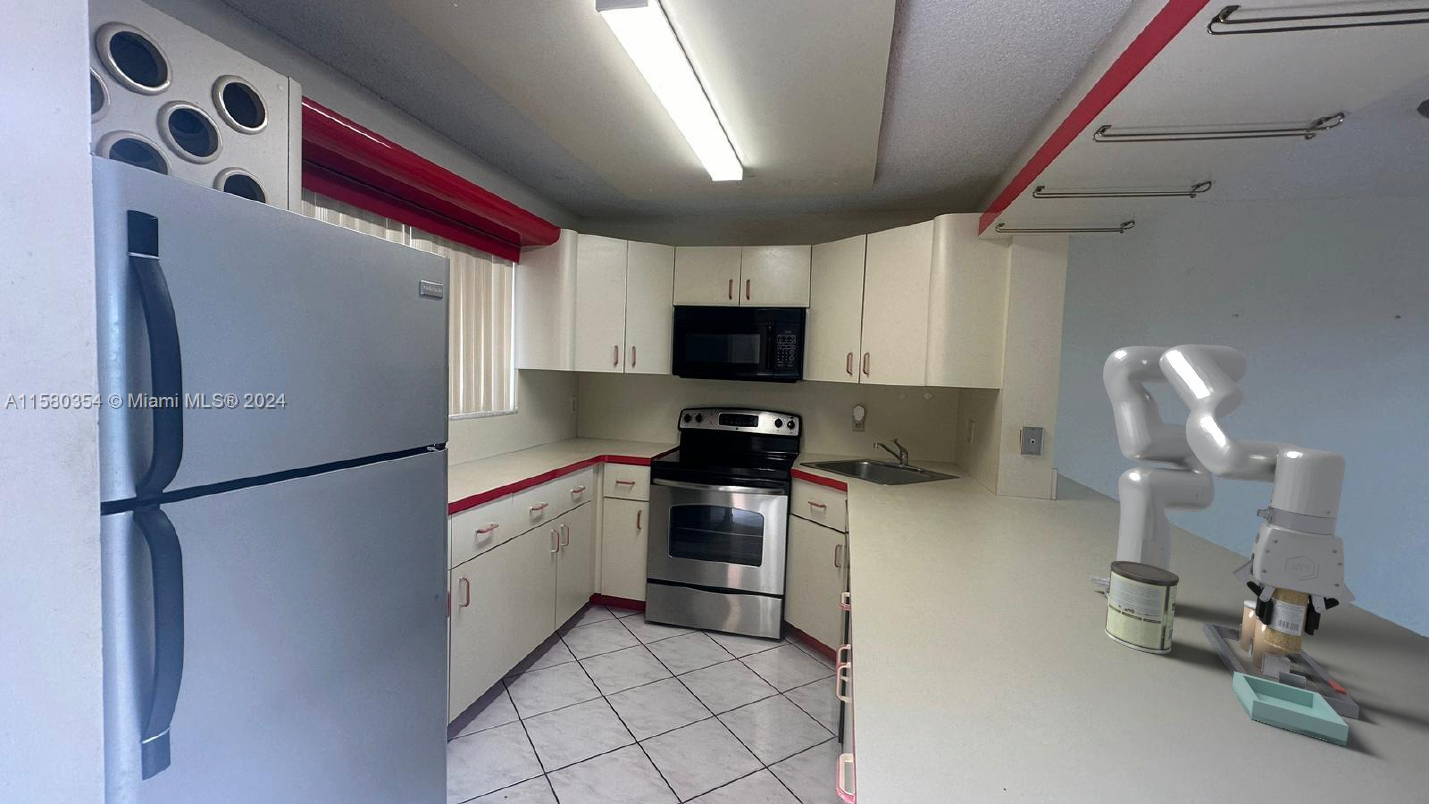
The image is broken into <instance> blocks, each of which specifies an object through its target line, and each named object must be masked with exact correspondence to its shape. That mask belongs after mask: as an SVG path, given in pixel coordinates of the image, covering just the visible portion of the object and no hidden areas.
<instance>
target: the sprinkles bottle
mask: <svg viewBox="0 0 1429 804" xmlns="http://www.w3.org/2000/svg"><path fill="white" fill-rule="evenodd" d="M1308 598H1309V594H1305V593H1300V592H1295V591H1290V590H1285V589H1280V588H1275V590H1274V592H1273V594H1272V596H1271V601H1270V602H1272V603H1273V610H1272V616H1271V623H1270V625H1266V631H1265V637H1264V639H1263V641H1264V643H1265V644H1267V645H1268V646H1270V647H1272V648H1275V649H1277V650H1279V651H1283V652H1286V654H1287V653H1292V654H1300V653H1301V652H1302V649H1303V648H1302V644H1303V637H1304V634H1305V632H1304V630H1305V624H1306V613H1307V604H1308ZM1301 648H1302V649H1301Z"/></svg>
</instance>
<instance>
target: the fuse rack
mask: <svg viewBox="0 0 1429 804" xmlns="http://www.w3.org/2000/svg"><path fill="white" fill-rule="evenodd" d="M1241 631H1242V623H1239V629H1238V628H1234V627H1229V626H1224V625H1220V624H1215V623H1212V622H1208V621H1207V622H1206V621H1203V625H1202V632H1203V634H1204V635H1205V637H1206V638H1207V641H1208V642H1209V643H1210V645H1211V646H1212V648H1213V649H1214V651H1215V653H1216V654H1217V655H1218V657H1219V658H1220V661H1222V663H1223V665H1224V666H1225V668H1226V669H1227V671H1228V672H1229V674H1230V675H1231V677H1232V678H1233V677H1234V671H1235V672H1238V673H1242V674H1246V675H1249V674H1248V673H1247V671H1246V669H1244V666H1243V665H1242V664H1241V663H1240V662H1239V660H1238V659H1237V657H1236V656H1235V655H1234V652H1233V651H1232V649H1230V647H1229V646H1228V645H1227V643H1226V641H1225V640H1224V638H1225V639H1231V640H1235V641H1238V643H1240V640H1241ZM1253 645H1254V637H1250V646H1249V652H1248V656H1249V657H1250V658H1252V654H1253ZM1301 649H1302V652H1301V653H1300V654H1292V653H1288V655H1289V656H1290V657H1291V658H1292V659H1293V660H1294V662H1296V663H1297V665H1298V666H1299V668H1301V669H1302V670H1303V671H1304V672H1305V673H1306V674H1307V675H1308V677H1309V678H1311V680H1312V681H1313V682H1314V683H1315V684H1316V685H1317V687H1319V689H1320V690H1322V691H1323V692H1324V694H1325V695H1322V694H1320V695H1321V696H1322V697H1323V699H1324V700H1325V701H1326V702H1327V703H1328V704H1329V705H1330V706H1331V707H1332V709H1333V710H1334V711H1335V712H1336V713H1337V714H1338V715H1339V716H1340V715H1341V716H1345V717H1348V718H1352V719H1354V720H1358V719H1359V713H1360V706H1359V704H1358V703H1356V702H1355V700H1353V699H1352V698H1351V697H1350V696H1349V694H1347V693H1348V692H1347V690H1346V689H1345V688H1344V687H1342V685H1340V683H1338V682H1336V681H1334V680H1333V678H1332V677H1331V676H1330V675H1329V674H1327V672H1326V671H1324V669H1322V667H1321V666H1320V665H1319V664H1318V663H1317V662H1316V661H1314V659H1313V658H1312V657H1311V656H1309V654H1308V653H1307V652H1306V651H1305V650H1304V649H1303V648H1302V647H1301ZM1291 663H1292V661H1291V660H1290V659H1289V658H1288V657H1287V656H1285V657H1283V656H1278V655H1274V654H1270V653H1266V652H1263V660H1262V668H1260V671H1261V673H1262V674H1263V675H1264V676H1267V677H1271V678H1276V679H1277V680H1276V682H1277V683H1281V684H1285V685H1289V686H1293V687H1296V688H1300V689H1304V690H1306V684H1307V678H1306V677H1305V676H1302V675H1300V674H1294V673H1292V672H1291V671H1290V670H1291ZM1290 672H1291V673H1290Z"/></svg>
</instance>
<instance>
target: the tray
mask: <svg viewBox="0 0 1429 804" xmlns="http://www.w3.org/2000/svg"><path fill="white" fill-rule="evenodd" d="M1232 678H1233V679H1232V685H1231V687H1232V691H1233V694H1235V696H1236V698H1237V699H1238V701H1239V702H1240V704H1241V706H1242V707H1243V708H1244V711H1245V712H1246V714H1247V715H1248V717H1249V718H1250V720H1252V719H1254V720H1253V721H1255V720H1257V721H1256V722H1259V721H1260V723H1262V722H1263V724H1265V723H1267V724H1266V725H1269V724H1270V726H1273V727H1275V728H1280V729H1283V728H1286V729H1288V730H1287V731H1289V730H1292V731H1291V732H1293V731H1296V732H1297V734H1300V733H1301V734H1300V735H1303V734H1304V736H1307V737H1310V736H1313V737H1317V738H1321V739H1322V740H1321V741H1324V740H1327V741H1329V742H1328V743H1331V744H1334V745H1338V746H1341V745H1342V746H1341V747H1345V748H1347V743H1348V735H1349V734H1348V733H1349V725H1348V724H1347V723H1346V721H1344V719H1343V718H1342V717H1341V716H1340V714H1337V713H1336V712H1335V711H1334V710H1333V709H1332V707H1331V706H1330V705H1329V704H1328V703H1327V702H1326V701H1325V700H1324V699H1323V697H1322V696H1323V695H1322V694H1320V693H1319V692H1315V691H1311V690H1307V689H1305V690H1304V689H1300V688H1296V687H1293V686H1289V685H1285V684H1281V683H1277V681H1273V680H1269V679H1265V678H1262V677H1258V676H1253V675H1249V674H1248V675H1246V674H1242V673H1238V672H1235V671H1234V677H1232ZM1321 695H1322V696H1321ZM1286 729H1285V730H1286ZM1296 732H1295V733H1296ZM1313 737H1312V738H1313ZM1317 738H1316V739H1317ZM1323 739H1324V740H1323ZM1327 741H1326V742H1327Z"/></svg>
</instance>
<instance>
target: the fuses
mask: <svg viewBox="0 0 1429 804" xmlns="http://www.w3.org/2000/svg"><path fill="white" fill-rule="evenodd" d="M1256 602H1257V600H1256V601H1254V600H1250V599H1249V600H1247V599H1246V600H1244V602H1243V615H1242V616H1243V617H1242V623H1241V624H1242V631H1241V640H1240V642H1239V648H1240V649H1242V650H1243V651H1245V652H1248V653H1249V646H1250V637H1254V645H1253V654H1252V657H1251V664H1252V665H1254V666H1256V667H1257V668H1259V669H1262V660H1263V652H1266V653H1270V654H1274V655H1278V656H1283V657H1287V656H1286V654H1287V652H1283V651H1279V650H1277V649H1275V648H1272V647H1270V646H1268V645H1267V644H1265V643H1264V641H1263V639H1264V637H1265V631H1266V625H1264V624H1263V623H1262V622H1261V621H1260V619H1259V618H1258V617H1257V616H1256V615H1255V609H1256Z"/></svg>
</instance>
